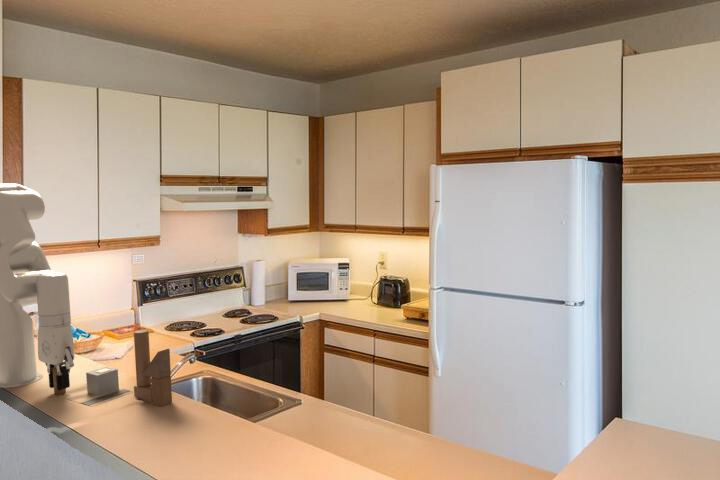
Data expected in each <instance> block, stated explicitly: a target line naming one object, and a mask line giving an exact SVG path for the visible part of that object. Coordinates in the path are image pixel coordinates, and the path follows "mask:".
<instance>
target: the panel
mask: <svg viewBox="0 0 720 480" xmlns="http://www.w3.org/2000/svg"><path fill="white" fill-rule="evenodd" d="M129 394H134V391H131V390H129V389H126V388H120V387H119V389H118V390H115V391H112V392H109V393H106V394H103V395H100V396H97V395H93V394H90V393H87V383H84V384H80V385H78V386H74V387H72V388H67V389H66V393H64V394H61V395H55V394H54V393H52V396H55V397H59V398H62V399H65V400H69V401H72V402H75V403H78V404H81V405H84V406H88V407H91V408H92V407H95V406H99V405H100V404H101V405H102V404H104V403H106V402H109V401H113V400H115V399H116V400H117V399H118V398H122V397H123V396H127V395H129Z"/></svg>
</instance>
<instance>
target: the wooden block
mask: <svg viewBox="0 0 720 480" xmlns="http://www.w3.org/2000/svg"><path fill="white" fill-rule="evenodd" d="M149 333H150V332H149V330H148V329H147V330H146V329H140V330H136V331H134V332H133V340H134V341H133V342H134V358H135V359H134V361H135V362H134V363H135V374H136V375H135V377H136V385H134V386H133V394H134V397H136V398H137V399H136V400H137V401H141V402H145V403H147V404H152V405H155V406H158V407H164V406H166V405H168V404H170V403H172V402H173V393H172V392H173V391H172V376H171V375H172V373H171V372H172V370H171V352H170V348H165V349H163V350H159V351H157V352H156V354H155V355H154V357H153V358H152V359H151V355H150V354H151V352H150V351H151V350H150V334H149Z"/></svg>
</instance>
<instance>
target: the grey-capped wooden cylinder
mask: <svg viewBox="0 0 720 480" xmlns="http://www.w3.org/2000/svg"><path fill="white" fill-rule="evenodd" d="M63 366H64V365H61V368H62V367H63ZM52 370H53V384H54V388H53V394H55V395H61V394H64V393H66V390H67V388H65V389H62V390H57V381H56V375H58V373H57V365H54V367H53V368H52ZM55 395H54V396H55Z"/></svg>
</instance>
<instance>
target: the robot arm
mask: <svg viewBox="0 0 720 480" xmlns="http://www.w3.org/2000/svg"><path fill="white" fill-rule="evenodd" d="M45 209H46V207H45V201H44V199H43V198H42V197H41V195H40V194H39V193H38V192H37V191H35V190H33V189H31V188H30V187H29V188H28V187H27V186H23V185H22V184H18V183H0V388H5V389H6V388H7V389H8V388H15V387H21V386H26V385H29V384H34V383H36V382H39V381H41V380H42V379H43V378H44V374H43V373H40V372H38V371H37V362H36V360H37V359H36V344H35V335H34V334H35V332H34V331H35V330H34V321H33V318H32V317H31V315H30V314H29V313H27V312H26V310H25V309H24V307H27V306H30V305H37V314H38V315H37V316H38V329H37V330H38V331H37V332H38V333H37V358H38V360H39V361H40V362H41V363H44V364H45V366H46V371H47V373H48V384H49V386H48V387H49V388H50V389H54V384H53V370H52V368H53V367H54V365H57V373H58V375H56V381H57V390H62V389H65V388H66V389H69V388H70V387H71V386H70V385H71V384H70V372H71V369H72V368H74V367H75V364H74V360H75V344H74V342H75V341H74V336H73V329H72V326H71V324H72V319H71V318H72V317H71V303H70V302H71V300H70V288H69V287H70V286H69V277H68V275H67V274H66V273H64V272H56V271H54V270H52V269H51V266H50V265H49V262H48V260H47V257H46V254H45V252H44V250H43V247H41V246H40V244H38V243H37V242H36V241H35V240H36V233H35V232H34V230H33V227H32V224H31V223H30V220H31V221H33V220H39V219H41V218H42V217H43V216H44V214H45ZM61 365H62V366H63V367H62V368H61Z"/></svg>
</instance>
